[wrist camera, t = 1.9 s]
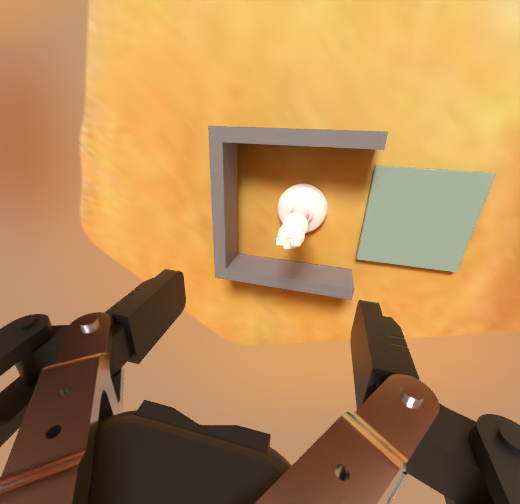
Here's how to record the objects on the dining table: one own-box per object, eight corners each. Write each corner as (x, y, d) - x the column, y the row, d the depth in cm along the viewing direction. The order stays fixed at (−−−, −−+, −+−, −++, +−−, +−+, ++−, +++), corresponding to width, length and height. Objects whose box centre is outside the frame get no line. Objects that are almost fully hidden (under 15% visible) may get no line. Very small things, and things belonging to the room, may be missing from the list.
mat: (491, 172, 21) (495, 173, 21) (454, 269, 25) (456, 272, 25) (374, 165, 23) (375, 166, 23) (355, 256, 27) (356, 259, 26)
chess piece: (326, 232, 27) (323, 280, 18) (278, 230, 28) (254, 275, 19) (328, 182, 25) (326, 210, 16) (277, 184, 26) (248, 209, 17)
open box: (379, 132, 22) (388, 131, 19) (349, 279, 28) (351, 299, 25) (225, 127, 25) (208, 126, 22) (228, 261, 31) (215, 277, 28)
